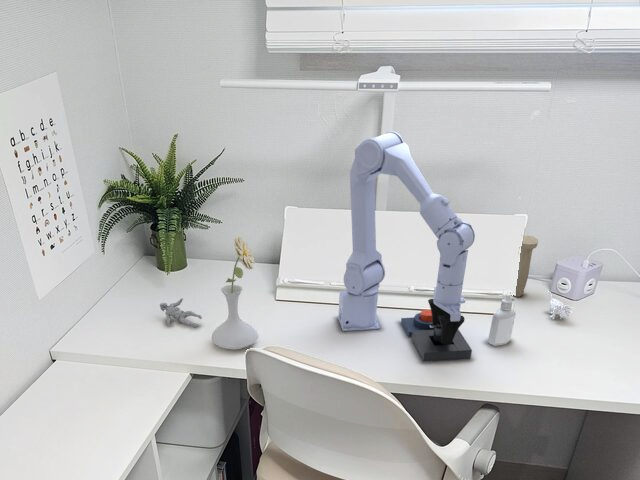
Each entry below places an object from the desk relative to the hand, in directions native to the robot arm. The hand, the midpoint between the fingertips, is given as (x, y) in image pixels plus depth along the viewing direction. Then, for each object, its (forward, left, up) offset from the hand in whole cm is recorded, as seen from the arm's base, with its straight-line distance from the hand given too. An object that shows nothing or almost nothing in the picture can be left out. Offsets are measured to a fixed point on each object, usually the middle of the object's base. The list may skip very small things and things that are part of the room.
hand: (442, 336), depth 159 cm
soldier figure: (-62, +23, -4) cm, 66 cm away
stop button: (-1, +11, -1) cm, 11 cm away
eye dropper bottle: (+15, +2, -4) cm, 16 cm away
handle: (+29, +28, -4) cm, 40 cm away
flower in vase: (-48, +10, -4) cm, 49 cm away
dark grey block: (0, 0, -3) cm, 3 cm away
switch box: (-1, +11, -3) cm, 12 cm away
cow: (+34, +15, -4) cm, 37 cm away
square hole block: (0, 0, -3) cm, 3 cm away
